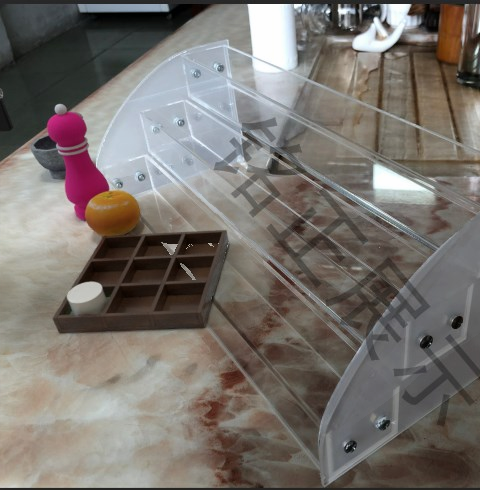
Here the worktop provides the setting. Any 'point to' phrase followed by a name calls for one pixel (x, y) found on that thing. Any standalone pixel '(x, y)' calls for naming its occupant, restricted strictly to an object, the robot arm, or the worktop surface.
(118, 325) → the board
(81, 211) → the pink pepper grinder
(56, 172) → the mortar and pestle
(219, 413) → the worktop surface
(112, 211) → the fruit
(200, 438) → the worktop surface
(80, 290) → the white cylinder puck
